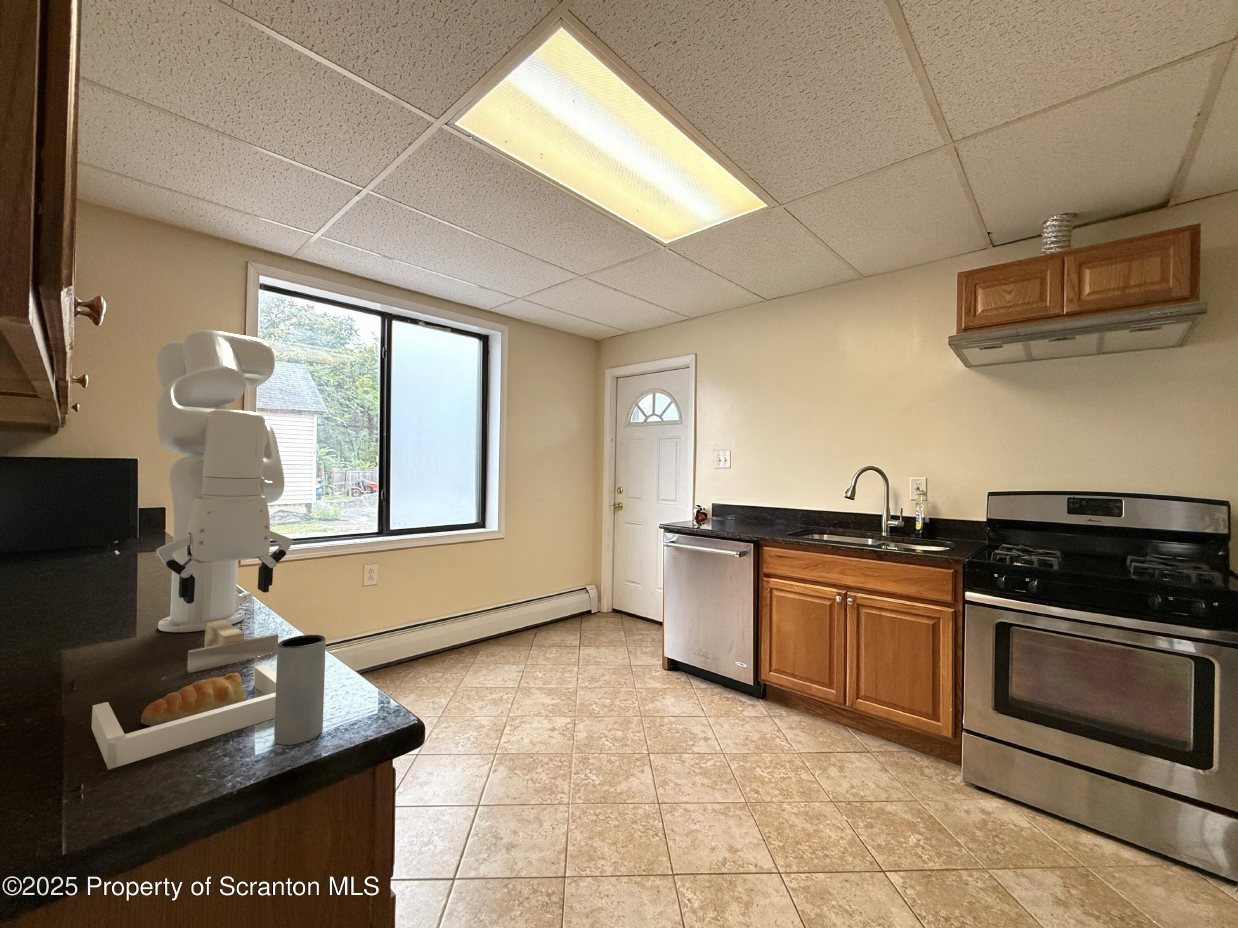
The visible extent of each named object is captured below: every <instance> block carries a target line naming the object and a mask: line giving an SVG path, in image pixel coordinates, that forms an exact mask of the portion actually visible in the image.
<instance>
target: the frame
mask: <svg viewBox="0 0 1238 928" xmlns="http://www.w3.org/2000/svg"><path fill="white" fill-rule="evenodd" d="M276 672H277V671H275V670H274V669H272V668H270V666H268V665H266V664H262V665H258V666H255V667H254V678H253V681H254V682H253V687H255V688H256V689H257V690H258V691H260V692H261V693H262V694H263V695H262V696H258V697H255V698H250V699H246V701H243V702H240V703H236V704H232V705H229V706H225V707H222V708H218V709H214V710H211V711H207V712H204V713H200V714H196V715H193V716H189V717H185V718H182V719H178V720H175V721H171V722H167V723H164V724H160V725H157V726H153V727H152V726H149V727H146V728H143V729H139V730H135V731H132V732H129V733H125V732H124V730H123V728H122V726H121V725H120V723H119V721H118V719H117V717H116V714H115V713H114V710H113V709H112V707H111V706H110V703H109V702H108V701H106V702H102V703H101V702H100V703H98V704H94V705H92V712H91V730H92V732H93V735H94V738H95V741H96V743H97V745H98V749H99V750H100V752H101V756H102V758H103V760H104V762H105V764H106V767H107V770H112V769H115V768H118V767H122V766H124V765H128V764H130V763H134V762H137V761H141V760H144V759H147V758H150V757H153V756H156V755H160V754H163V753H167V752H170V751H172V750H176V749H179V748H183V747H186V746H189V745H192V744H195V743H198V742H201V741H205V740H208V739H211V738H214V737H217V736H221V735H224V734H228V733H231V732H234V731H237V730H241V729H244V728H246V727H251V726H253V725H256V724H260V723H263V722H265V721H269V720H273V719H275V699H276Z"/></svg>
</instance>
